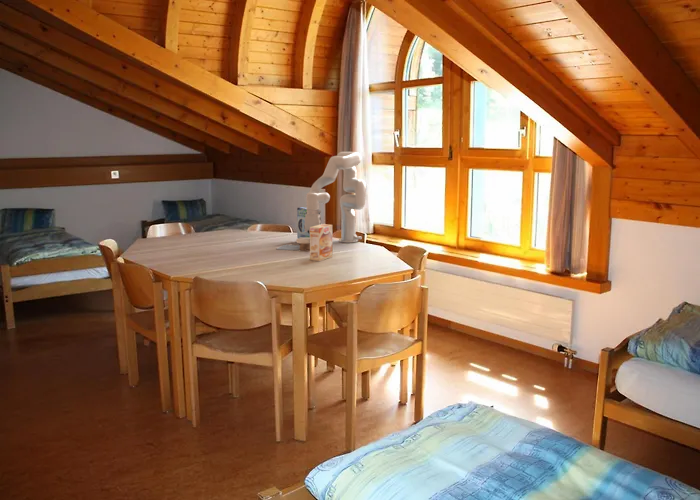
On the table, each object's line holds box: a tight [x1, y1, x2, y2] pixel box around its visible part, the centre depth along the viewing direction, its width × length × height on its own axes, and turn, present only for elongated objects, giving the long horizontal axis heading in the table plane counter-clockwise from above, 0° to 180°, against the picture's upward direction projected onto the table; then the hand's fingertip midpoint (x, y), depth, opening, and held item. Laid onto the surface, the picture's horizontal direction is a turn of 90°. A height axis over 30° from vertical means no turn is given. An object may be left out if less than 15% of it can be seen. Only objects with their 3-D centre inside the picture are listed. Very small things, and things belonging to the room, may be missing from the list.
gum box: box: [296, 206, 321, 240], centre depth 449 cm, size 20×5×23 cm, turn 39°
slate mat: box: [276, 244, 301, 251], centre depth 433 cm, size 15×16×1 cm
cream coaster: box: [296, 237, 310, 244], centre depth 430 cm, size 8×8×2 cm
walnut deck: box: [299, 243, 310, 252], centre depth 430 cm, size 9×14×4 cm, turn 165°
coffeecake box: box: [309, 223, 333, 262], centre depth 397 cm, size 15×7×20 cm, turn 151°
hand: (312, 241), depth 429 cm, fingers closed
